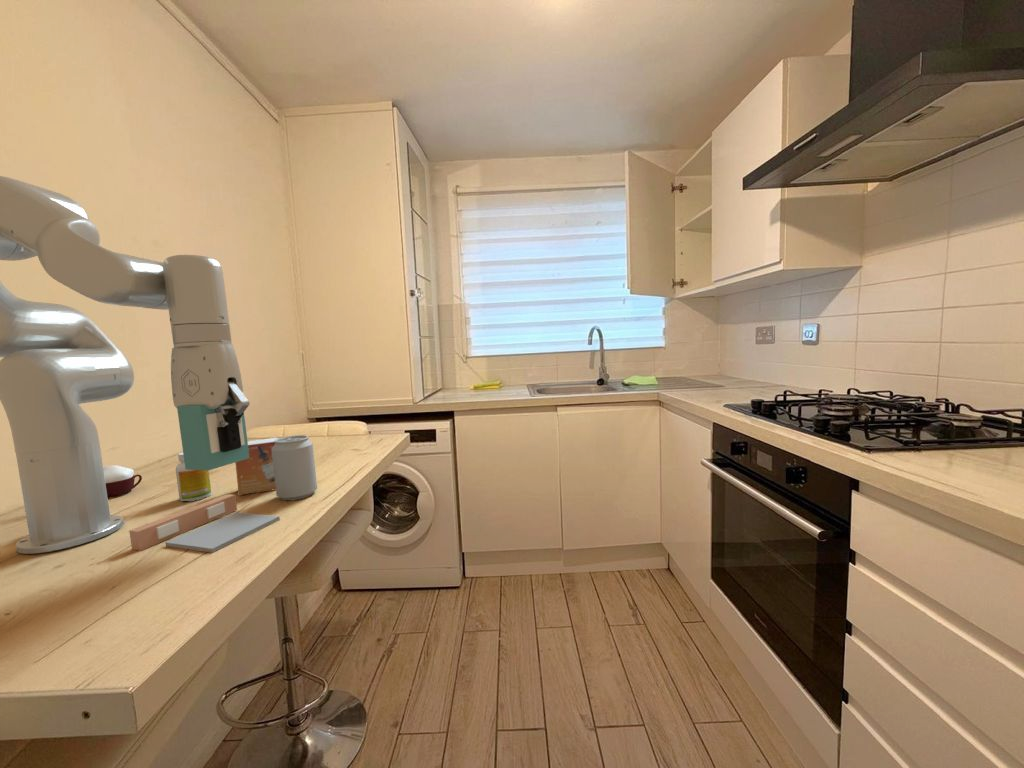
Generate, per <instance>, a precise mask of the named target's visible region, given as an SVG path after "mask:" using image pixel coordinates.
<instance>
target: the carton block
mask: <svg viewBox="0 0 1024 768" xmlns="http://www.w3.org/2000/svg"><path fill="white" fill-rule="evenodd" d="M225 405H229V403H228V402H225V404H221V406H225ZM176 409H177V416H178V417H177V418H178V424H179V432H180V439H181V440H180V441H181V445H182V446H181V447H182V452H183V455H184V462H185V469H186V470H209V471H212V470H215V469H217V468H221V467H225V466H227V465H231V464H235V462H238V461H242V460H245V459H248V458H249V450H248V436H247V435H248V434H247V428H246V427H247V426H246V418H245V413H244V414H243V415H242V417H241V423H240V424H239V432H240V440H241V447H240V448H238V449H235V450H231V451H227V452H221V451H220V445H219V438H218V430H217V427H221V426H220V423H219V421H218V418H217V415H216V412H215V409H209V410H208V409H206V408H205V405H184V406H177V408H176ZM224 412H225V415H227V413H228V412H229V410H226V411H224Z"/></svg>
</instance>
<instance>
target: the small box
mask: <svg viewBox="0 0 1024 768" xmlns="http://www.w3.org/2000/svg"><path fill="white" fill-rule="evenodd" d="M277 439H279V438H278V436H277V437H271V438H265V439H263V438H262V439H257V440H249V441H248V440H247V442H248V450H249V458H248V459H245V460H242V461H238V462H235V463H234V464H235V474H236V481H237V492H238V496H243V494H244V495H248V494H249V493H250V494H255V492H256V493H262V492H267V490H269V491H273V490H272V489H276V486H275V477H274V468H273V459H272V450H271V449H272V447H273V446H274V445H275V442H274V441H275V440H277ZM261 491H262V492H261Z"/></svg>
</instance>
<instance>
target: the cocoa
mask: <svg viewBox="0 0 1024 768" xmlns="http://www.w3.org/2000/svg"><path fill="white" fill-rule="evenodd" d="M103 470H104V477H105V483H106V490H107V497H108V498H109V497H112V498H117V496H118V497H121V496H125V495H128V494H129V493H130V492H131V491H132V490H133V489H135V488H136V487H137V486H138V485H139V484H140V483H141V482H142V480H143V476H142V475H141V474H135V471H134V469H133V468H130V467H124V466H120V465H108V466H107V465H106V466H105V467H104V466H103ZM134 474H135V475H134ZM136 477H139V479H138V481H137V482H136V483H135V478H136ZM124 494H125V495H124Z"/></svg>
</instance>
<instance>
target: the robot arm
mask: <svg viewBox="0 0 1024 768" xmlns="http://www.w3.org/2000/svg"><path fill="white" fill-rule="evenodd" d="M88 215H89V214H87V212H86V211H85V209H84V208H83V207H82V206H81V204H80V203H78V202H77V201H75V200H74V199H73V198H71V197H70V196H67V195H64V194H63V193H59V192H56V191H54V190H50V189H46V188H44V187H41V186H38V185H35V184H31V183H28V182H25V181H21V180H17V179H15V178H12V177H8V176H3V175H0V261H11V262H15V261H22V260H28V259H32V258H35V257H37V258H38V261H39V263H40V264H41V266H42V268H43V270H44V271H45V272H46V274H48V275H49V277H51V278H52V279H53V280H55V281H56V282H57V283H60V284H62V285H63V286H65V287H67V288H68V289H70V290H73V291H74V292H76V293H78V294H79V295H82V296H84V297H85V298H88V299H90V300H93V301H96V302H98V303H101V304H102V303H103V304H106V305H111V306H112V305H113V306H121V307H133V308H134V307H135V308H144V309H154V310H165V311H166V310H168V317H169V324H170V328H171V336H172V337H171V339H172V343H173V347H172V349H171V355H170V381H171V393H172V400H173V405H174V407H175V408H176V409H177V406H184V405H205V408H206V409H208V410H209V409H215V412H216V415H217V418H218V421H219V423H220V426H221V427H217V430H218V438H219V445H220V451H221V452H227V451H231V450H235V449H238V448H240V447H241V440H240V432H239V424H240V423H241V417H242V415H243V414H244V415H245V411H246V410H247V409H248V407H250V404H251V403H250V401H249V399H248V398H247V397H246V395H245V394H244V386H243V380H242V373H241V369H240V365H239V361H238V358H237V354H236V350H235V347H234V344H233V343H232V342H233V341H232V335H231V334H232V333H231V328H230V327H231V326H230V318H229V317H230V316H229V311H228V309H229V308H228V303H227V295H226V294H227V293H226V288H225V278H224V271H223V267H222V266H221V263H220V262H219V261H218V260H216V259H215V258H212V257H208V256H203V255H196V254H176V255H171V256H168V257H166V258H165V259H164V260H163V262H161V261H157V260H152V259H148V258H144V257H138V256H134V255H129V254H126V253H125V254H124V253H119V252H115V251H112V250H110V249H107V248H105V247H102V246H101V245H100V242H101V239H100V238H101V236H100V232H99V230H98V229H97V227H96V225H95V224H94V223H93V222H91V220H90V219H89V216H88ZM0 358H1V359H0V403H1V405H2V407H3V409H4V413H5V414H6V417H7V420H8V423H9V426H10V431H11V434H12V440H13V446H14V453H15V456H16V457H15V459H16V462H17V464H16V465H17V469H18V475H19V480H20V486H21V493H22V498H23V504H24V505H23V506H24V510H25V517H26V522H27V528H28V535H27V536H25V537H23V538H21V539H19V540H18V541H17V542H16V543H15V549H16V552H17V553H19V554H24V555H30V554H31V555H33V554H42V553H43V554H44V553H50V552H54V551H60V550H65V549H68V548H73V547H76V546H79V545H83V544H87V543H89V542H93V541H95V540H99V539H101V538H104V537H106V536H108V535H110V534H112V533H114V532H116V531H117V530H119V529H121V528H122V527H123V525H124V518H123V516H120V515H116V514H115V515H114V514H113V515H112V514H111V511H110V505H109V500H108V497H107V490H106V483H105V477H104V470H103V468H104V463H103V457H102V452H101V447H100V444H101V442H100V438H99V432H98V429H97V426H96V424H95V422H94V420H93V419H92V418H91V417H90V416H89V414H88V413H87V412H86V411H85V410H84V409H83V407H82V406H80V404H87V403H94V402H102V401H108V400H114V399H116V398H117V399H118V398H119V397H122V396H123V395H126V394H127V393H128V392H129V391H130V390H131V388H132V387H133V385H134V381H135V374H134V370H133V367H132V365H131V362H130V361H129V359H128V358H127V357H126V355H124V353H123V351H121V350H120V349H119V347H117V345H115V343H114V342H113V341H112V340H111V339H110V338H109V337H108V335H106V334H105V333H104V332H103V331H102V329H100V327H98V325H97V324H96V323H94V322H93V320H92V319H90V317H89V316H87V315H86V314H85V313H83V312H81V311H79V310H78V309H75V308H73V307H72V306H68V305H64V304H59V303H51V302H42V301H41V302H38V301H31V300H27V299H24V298H23V299H22V298H20V297H18V296H17V295H15V294H14V293H13V292H11V291H10V290H9V289H8V288H7V287H6V286H5V285H4V283H2V282H1V281H0ZM225 402H228V403H229V405H225V406H221V404H225ZM226 410H229V412H228V413H227V415H225V412H224V411H226Z"/></svg>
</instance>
